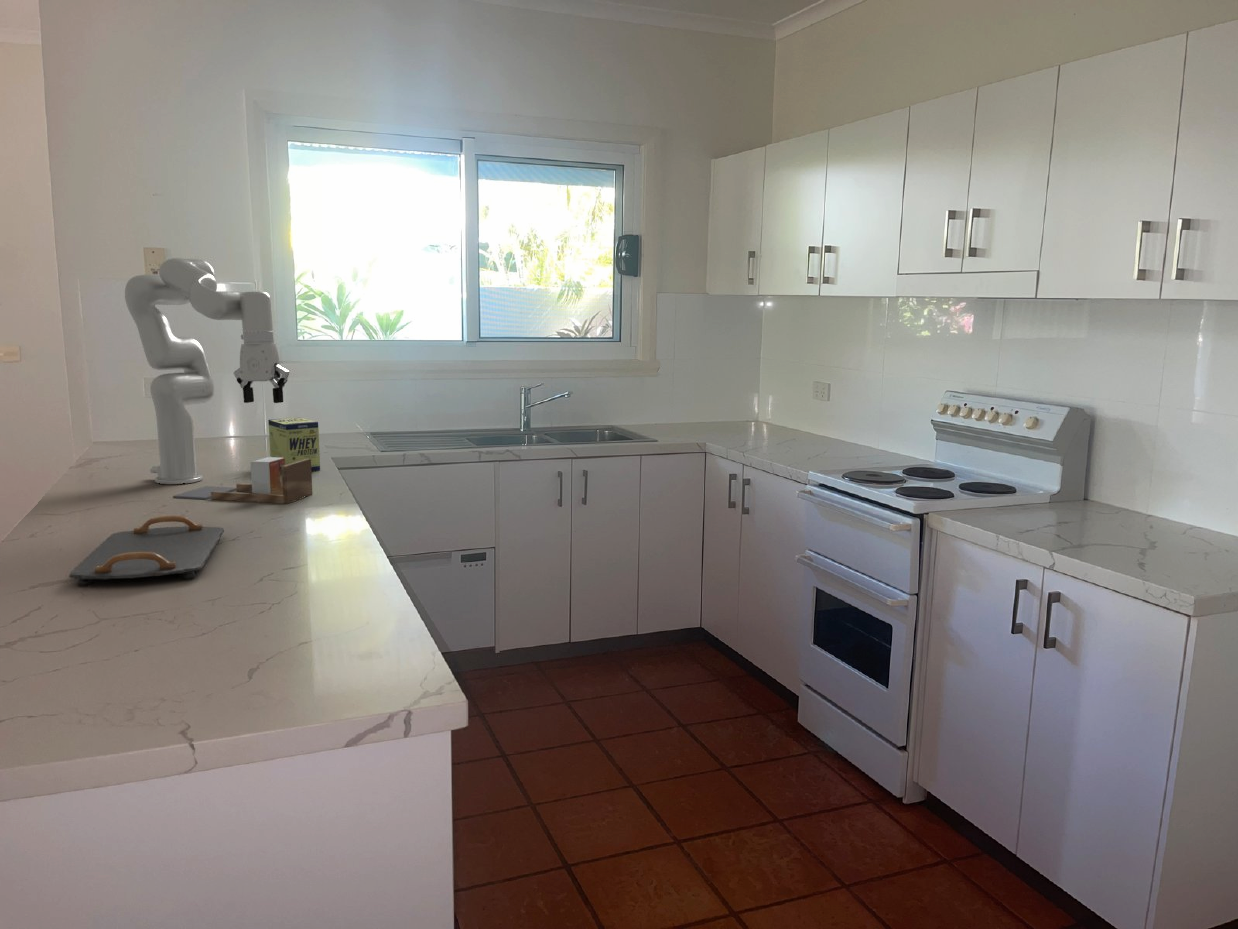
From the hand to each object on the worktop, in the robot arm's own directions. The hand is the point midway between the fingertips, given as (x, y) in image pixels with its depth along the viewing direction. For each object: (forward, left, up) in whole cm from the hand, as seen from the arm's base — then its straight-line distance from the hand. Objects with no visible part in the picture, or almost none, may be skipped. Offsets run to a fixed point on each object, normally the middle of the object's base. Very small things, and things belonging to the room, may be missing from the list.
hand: (263, 402), depth 246 cm
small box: (+2, -2, -26) cm, 26 cm away
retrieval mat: (-18, -2, -26) cm, 31 cm away
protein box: (-15, +39, -26) cm, 49 cm away
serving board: (+14, -63, -26) cm, 70 cm away
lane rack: (0, -2, -26) cm, 26 cm away
